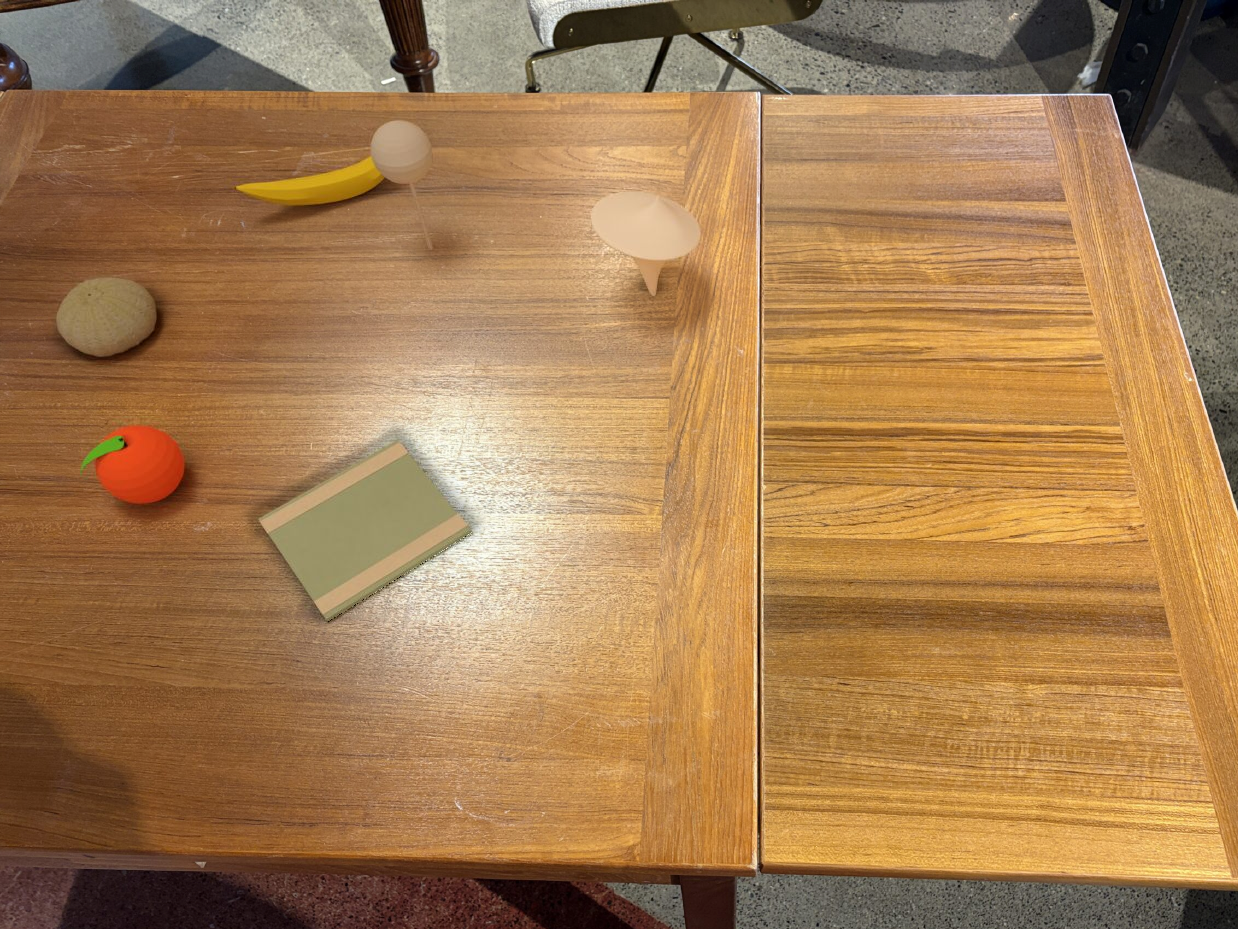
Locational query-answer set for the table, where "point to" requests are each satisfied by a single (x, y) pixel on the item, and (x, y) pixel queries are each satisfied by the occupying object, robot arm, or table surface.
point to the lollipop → (403, 157)
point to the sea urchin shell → (106, 316)
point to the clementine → (138, 464)
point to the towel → (363, 528)
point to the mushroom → (645, 230)
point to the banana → (318, 186)
